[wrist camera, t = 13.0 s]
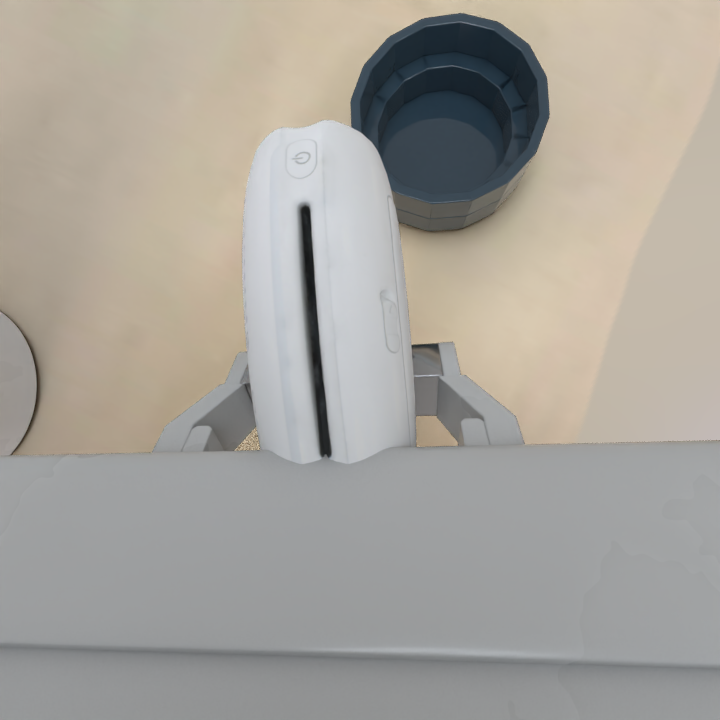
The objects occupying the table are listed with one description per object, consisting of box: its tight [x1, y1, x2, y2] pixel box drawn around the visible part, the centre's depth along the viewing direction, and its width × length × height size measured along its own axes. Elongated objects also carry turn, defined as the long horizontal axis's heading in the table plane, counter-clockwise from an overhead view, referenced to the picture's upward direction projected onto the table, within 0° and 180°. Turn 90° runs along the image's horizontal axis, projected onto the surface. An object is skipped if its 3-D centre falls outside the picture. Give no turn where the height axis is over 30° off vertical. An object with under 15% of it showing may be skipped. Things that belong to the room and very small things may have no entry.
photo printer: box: [242, 120, 416, 464], centre depth 14 cm, size 10×4×12 cm, turn 5°
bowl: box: [350, 13, 550, 231], centre depth 26 cm, size 12×12×5 cm
